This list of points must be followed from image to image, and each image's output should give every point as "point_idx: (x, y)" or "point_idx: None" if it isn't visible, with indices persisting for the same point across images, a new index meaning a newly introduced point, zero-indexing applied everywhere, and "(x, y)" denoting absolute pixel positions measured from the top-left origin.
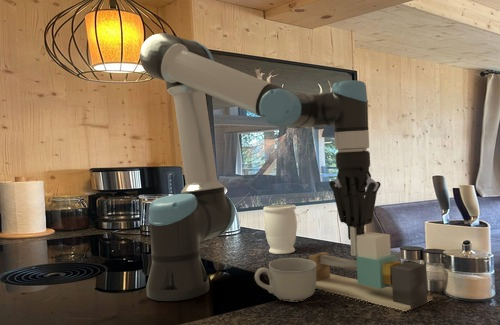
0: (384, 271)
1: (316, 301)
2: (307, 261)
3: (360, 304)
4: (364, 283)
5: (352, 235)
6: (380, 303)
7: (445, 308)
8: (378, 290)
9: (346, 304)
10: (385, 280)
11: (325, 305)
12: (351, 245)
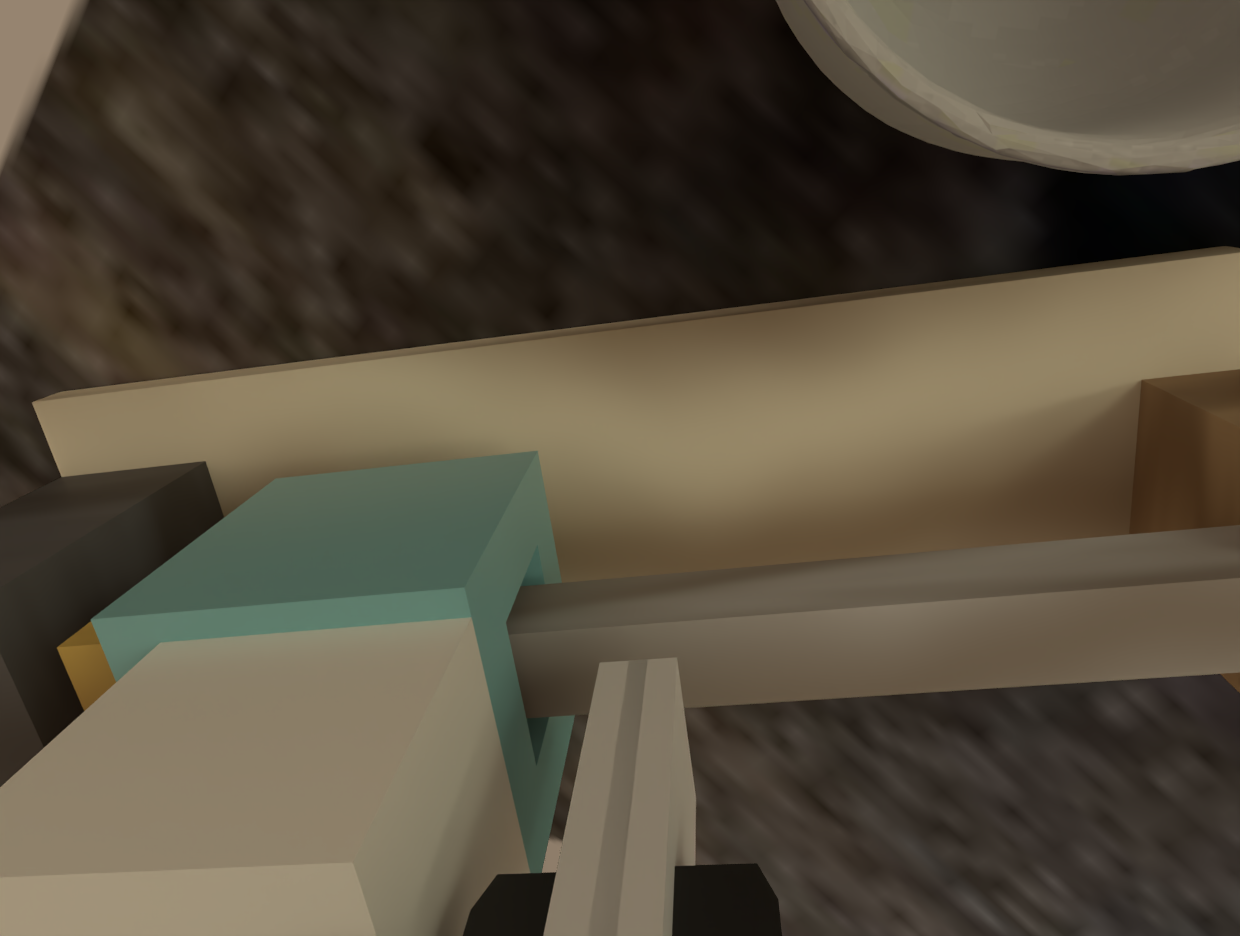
0: None
1: (733, 18)
2: (1193, 129)
3: (407, 292)
4: (449, 465)
5: (599, 915)
6: (249, 374)
7: None
8: None
9: (478, 196)
10: None
11: (577, 10)
12: (652, 758)
